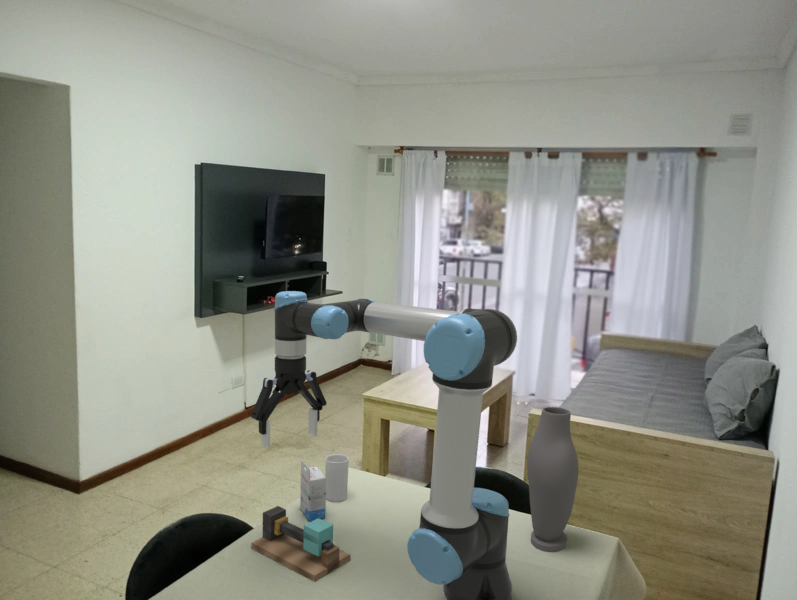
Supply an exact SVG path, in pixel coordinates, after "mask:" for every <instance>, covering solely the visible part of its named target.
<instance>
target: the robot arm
mask: <svg viewBox="0 0 797 600" xmlns="http://www.w3.org/2000/svg"><path fill="white" fill-rule="evenodd" d="M273 311H274V354H275V355H276V356H275V357H274V372H275V376H274V378H267V377H264V378H263V381H262V388H261V390H260V393H259V395H258V397H257V400H256V402H255V405H254V407H253V410H252V412H251V414H250V418H251V419H253V420H256V421H257V422H258V433H259V434H260V435H261V446H262V447H265V448H266V449H270V448H271V420H269V418H270V417H271V415H272V413H273V412H274V410H276V407H277V405H278V404H279V403H280V401H281V400H282V399H283V398H284V397H285V396H290V395H291V394H298V393H300V395H301V396H302V397H303V398H304V400H305V401H306V402H307V403H308V404H309V405H310V406H311V407H310V408H308V434H309V435H312V436H313V437H317V436H318V422H320V415H321V413H320V411H322V410H323V407H325V406H327V404H328V403H327V400H326V398H325V395H324V393H323V391H322V388H321V386H320V384H319V382H318V379H317V372H316V371H312V370H310V369H308V370H307V357H306V354H307V336H311V337H316V338H319V339H322V340H339V339H340V338H342V337H343V336H345V334H347V333H352V332H363V333H370V334H371V333H372V334H377V335H382V336H389V337H396V338H403V339H409V340H415V341H422V342H423V358H424V360H425V363H427V364H428V367H427V368H428V369H429V370H430V371H431V374H432V377H431V380H432V383H434V384H435V386H437V388H438V398H437V409H436V412H437V413H436V421H435V422H436V424H435V434H434V445H433V457H432V466H431V467H432V469H431V480H430V489H429V490H430V491H429V500H427V501H426V502H425V503H423V505H422V506H421V509H420V518H419V519H420V520H419V527H418V528H417V529H415V530H414V531H413V532H412V533H411V534H410V536H409V538H408V541H407V546H406V547H407V553H408V558H409V561H410V563H411V564H412V566H413V567H414V568H415V570H416V571H417V573H418V574H419V575H420V576H421V577H422V578H423V579H424V580H426V581H428V582H430V583H431V584H435V585H439V586H441V585H442V586H443V587H442V588H443V592H444V595H445V596H446V599H448V600H512V594H513V583H512V581H511V577H510V573H509V570H508V566H507V561H506V559H507V543H508V531H509V530H508V529H509V528H508V527H509V517H510V513H509V512H510V511H509V509H510V507H509V501H508V500H507V498H506V497H505V496H504V495H502V494H501V493H499V492H497V491H494V490H490V489H487V488H482V487H475V479H476V468H477V460H478V459H477V458H478V449H479V438H480V428H481V417H482V407H483V398H484V393H485V392H487V391H489V389H491V387H492V386H493V378H494V377H493V376H494V370H495V369H494V368H495V366H498V365H501V364H503V363H504V362H506V361H507V360H508V359H509V358H510V357H511V356H512V354H513V353H514V352H515V349H516V347H517V342H518V332H517V328H516V325H515V324H514V322H513V321H512V320H511V318H510V317H509V316H508V315H507V314H505V313H504V312H502V311H500V310H497V309H494V308H486V309H485V308H483V309H482V308H470V307H467V308H464V309H463V310H461V311H456V310H455V311H453V310H446V309H437V308H431V307H430V308H429V307H422V306H421V307H420V306H413V305H404V304H397V303H396V304H395V303H387V302H380V301H379V302H378V301H376V300H374V299H373V298H358V299H354V300H347V301H338V302H337V301H336V302H331V303H312V302H311V303H310V302H308V297H307V293H305V292H303V291H298V290H297V291H296V290H292V291H291V290H287V291H280V292H278V293H276V295H275V298H274V309H273ZM306 381H307V382H308V385H309V387H310V388H309V389H311V391H312V393H311V392H310V391H309V390H308V388H307V386H306V385H305V382H306ZM273 388H274V389H273ZM312 394H313V395H312Z"/></svg>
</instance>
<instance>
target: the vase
mask: <svg viewBox="0 0 797 600" xmlns="http://www.w3.org/2000/svg"><path fill="white" fill-rule="evenodd" d="M571 416H572V415H571V410H569V409H567V408H563V407H558V406H545V407H543V408H542V409H541V414H540V418H539V421H538V422H537V425H536V428H535V431H534V432H533V433H534V434H533V436H532V439H531V442H530V443H529V448H528V453H527V461H526V465H527V468H526V469H527V480H528V492H529V505H530V514H531V515H530V516H531V525H532V529H533V530H532V531H531V534H530V543H531V545H532V546H533V547H534V548H535V549H537V550H539V551H543V552H548V553H554V552H555V553H556V552H560V551H562V550H564V549H565V548H566V547H567V545H568V536H567V533H565V529H566V527H567V525H568V523H569V520H570V518H571V515H572V513H573V512H572V511H573V509H574V502H575V499H576V491H577V486H578V480H579V459H578V454H577V451H576V447H575V445H574V443H573V442H574V441H573V440H572V439H573V438H572V435H571V434H572V433H571Z"/></svg>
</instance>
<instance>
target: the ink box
mask: <svg viewBox="0 0 797 600" xmlns="http://www.w3.org/2000/svg"><path fill="white" fill-rule="evenodd" d="M299 496H300V501H299V503H300V504H299V507H300V510H301V511H302V513H303V515H304V516H305V518H306V519H307V521H308V522H311V521H313V520H316V519H318V518H319V519H321V520H324V519H326V511H327V510H326V508H327V507H326V503H327V501H326V500H327V499H326V477H325V474H324V473H323V472H322V471H321V470H320V468H318V466H312V467H309V466H308V464H307V463H306V462H305V461H304V460H303V459H302V458H301V459H300V495H299Z"/></svg>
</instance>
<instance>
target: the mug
mask: <svg viewBox="0 0 797 600" xmlns="http://www.w3.org/2000/svg"><path fill="white" fill-rule="evenodd" d="M349 459H350V458H349V456H347V455H346V454H342V453H334V454H332V453H331V454H330V455H329V454H328V455H326V457H325V462H324V463H325V468H324V469H325V473H324V476H325V477H326V500H327V501H329V502H333V503H340V502H343V501H345V500H347V498H348V481H349V463H350V462H349Z"/></svg>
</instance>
